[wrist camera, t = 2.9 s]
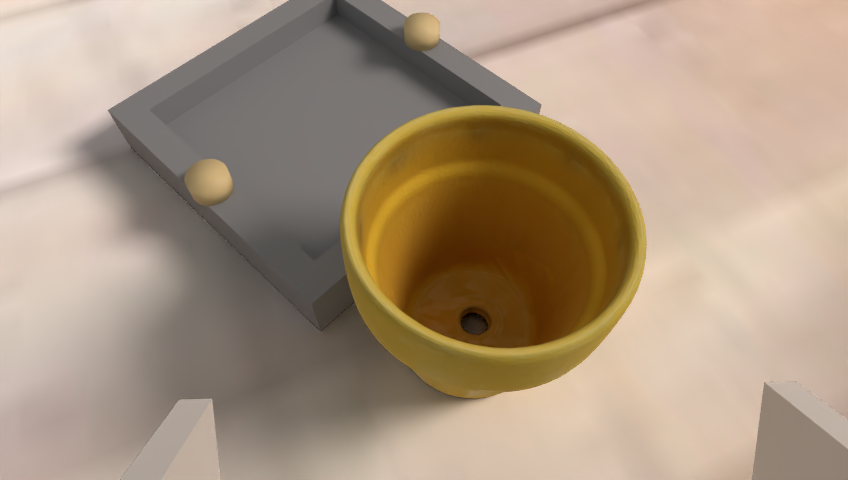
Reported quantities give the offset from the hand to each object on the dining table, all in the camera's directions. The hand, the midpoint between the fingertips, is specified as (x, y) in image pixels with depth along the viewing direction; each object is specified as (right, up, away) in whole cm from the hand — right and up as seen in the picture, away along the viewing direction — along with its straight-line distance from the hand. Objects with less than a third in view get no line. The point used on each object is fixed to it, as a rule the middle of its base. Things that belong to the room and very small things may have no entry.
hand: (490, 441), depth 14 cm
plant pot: (+1, +1, +14) cm, 14 cm away
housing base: (-7, +10, +20) cm, 23 cm away
